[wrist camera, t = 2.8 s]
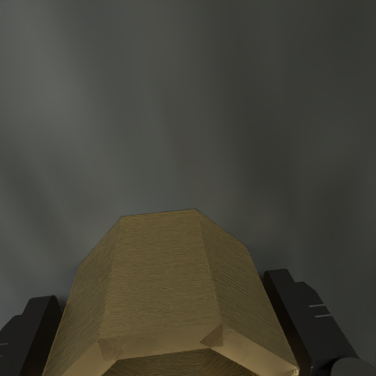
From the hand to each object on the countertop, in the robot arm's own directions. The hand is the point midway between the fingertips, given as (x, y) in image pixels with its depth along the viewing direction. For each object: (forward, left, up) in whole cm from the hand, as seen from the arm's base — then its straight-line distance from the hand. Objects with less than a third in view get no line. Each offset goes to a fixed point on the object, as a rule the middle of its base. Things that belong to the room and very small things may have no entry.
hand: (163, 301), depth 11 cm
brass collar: (0, 0, -1) cm, 1 cm away
